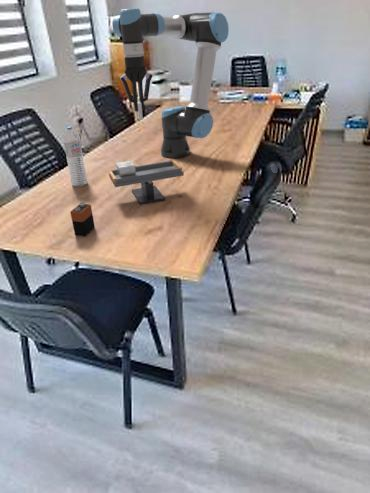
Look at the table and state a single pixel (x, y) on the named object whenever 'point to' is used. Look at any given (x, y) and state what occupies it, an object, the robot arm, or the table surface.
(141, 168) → the beam
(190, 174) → the table surface
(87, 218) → the battery
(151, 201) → the stand
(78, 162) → the water bottle
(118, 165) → the rider
